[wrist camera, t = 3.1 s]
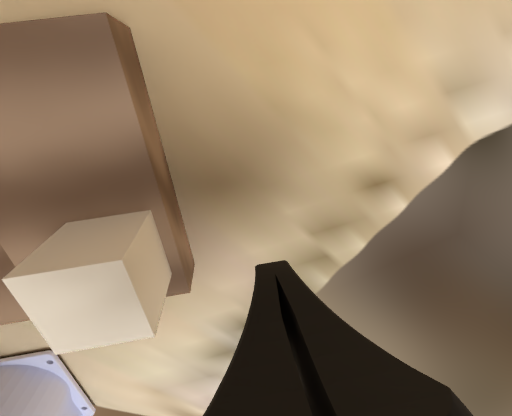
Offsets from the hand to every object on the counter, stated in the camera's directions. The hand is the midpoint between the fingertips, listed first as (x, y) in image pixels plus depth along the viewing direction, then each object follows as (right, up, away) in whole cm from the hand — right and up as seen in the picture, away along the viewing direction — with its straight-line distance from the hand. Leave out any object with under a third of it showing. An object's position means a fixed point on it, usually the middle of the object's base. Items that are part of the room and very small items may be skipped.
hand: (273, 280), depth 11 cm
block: (-9, +1, +4) cm, 9 cm away
